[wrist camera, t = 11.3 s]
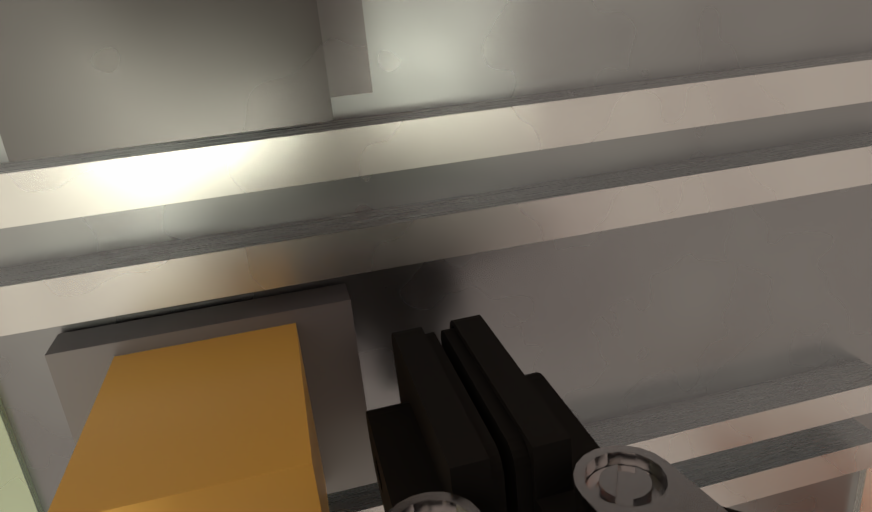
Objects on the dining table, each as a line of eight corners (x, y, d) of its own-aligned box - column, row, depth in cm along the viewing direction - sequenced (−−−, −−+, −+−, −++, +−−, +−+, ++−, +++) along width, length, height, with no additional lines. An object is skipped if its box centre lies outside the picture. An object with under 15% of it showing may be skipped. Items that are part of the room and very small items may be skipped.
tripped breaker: (58, 333, 11) (-67, 529, 7) (344, 283, 12) (390, 427, 8) (118, 516, 13) (45, 772, 9) (371, 457, 14) (423, 661, 10)
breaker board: (-442, -224, 9) (-1907, -724, 3) (1024, -256, 14) (1618, -467, 8) (31, 773, 17) (-102, 1216, 11) (876, 523, 22) (1120, 725, 16)
